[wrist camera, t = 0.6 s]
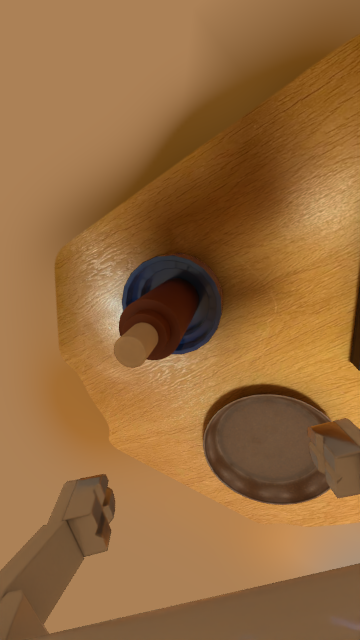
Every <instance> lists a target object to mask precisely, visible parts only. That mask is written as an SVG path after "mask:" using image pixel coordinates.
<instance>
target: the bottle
mask: <svg viewBox="0 0 360 640" xmlns="http://www.w3.org/2000/svg"><path fill="white" fill-rule="evenodd" d="M198 305H199V296H198V293H197V291H196V289H195V288H194V286H193V285H192V284H191V283H189V282H188V281H186V280H184V279H180V278H173V279H169V280H167V281H165V282H163V283H162V284H160V285H159V286H157V287H156V288H154V289H153V290H151V291H150V292H148V293H147V294H145V295H143V296H142V297H140V298H139V299H137V300H136V301H134V302H133V303H131V304H130V305H128V306H127V307H126V308H125V310H124V311H123V313H122V315H121V317H120V321H119V332H120V336H121V337H120V338H119V339H118V340H117V341H116V343H115V345H114V354H115V357H116V358H117V360H118V361H119V362H120V363H121V364H122V365H124V366H126V367H131V368H135V367H138V366H140V365H142V364H143V363H144V362H145V360H146V359H148V360H159V359H163V358H166V357H168V356H169V355H171V354H172V353H173V352H174V351H175V350H176V348H177V347H178V345H179V343H180V341H181V339H182V337H183V335H184V334H185V332H186V330H187V328H188V326H189V324H190V322H191V320H192V318H193V316H194V314H195V312H196V311H197V308H198Z"/></svg>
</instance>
